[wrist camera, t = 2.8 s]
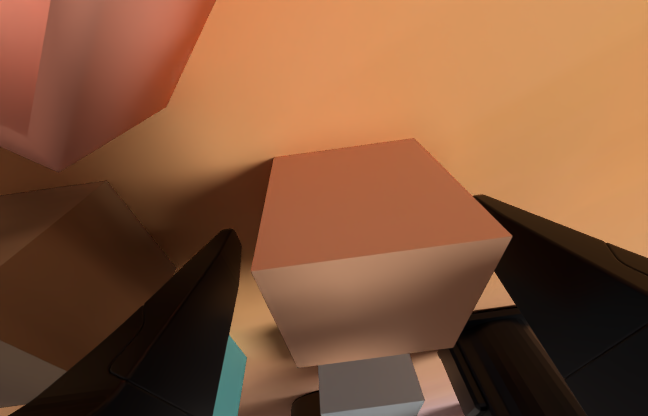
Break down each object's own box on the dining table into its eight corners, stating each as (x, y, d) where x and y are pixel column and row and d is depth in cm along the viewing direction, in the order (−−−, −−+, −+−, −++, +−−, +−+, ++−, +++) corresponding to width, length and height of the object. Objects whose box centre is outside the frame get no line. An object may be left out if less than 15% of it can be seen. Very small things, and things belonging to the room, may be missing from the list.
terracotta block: (413, 137, 8) (512, 236, 4) (400, 236, 11) (453, 347, 8) (274, 156, 8) (250, 271, 5) (298, 250, 12) (297, 367, 8)
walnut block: (108, 179, 8) (-58, 313, 5) (177, 267, 12) (113, 392, 8) (-29, 198, 9) (-312, 348, 5) (76, 281, 12) (-40, 412, 8)
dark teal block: (222, 325, 15) (195, 430, 11) (247, 356, 18) (232, 447, 14) (146, 336, 15) (92, 444, 11) (183, 364, 18) (151, 458, 14)
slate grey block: (392, 302, 15) (424, 400, 11) (388, 337, 18) (412, 423, 14) (315, 313, 15) (320, 414, 11) (323, 345, 18) (330, 434, 14)
